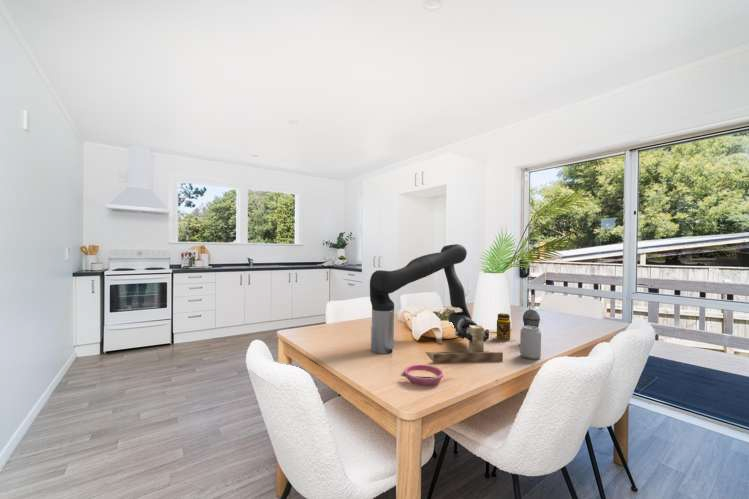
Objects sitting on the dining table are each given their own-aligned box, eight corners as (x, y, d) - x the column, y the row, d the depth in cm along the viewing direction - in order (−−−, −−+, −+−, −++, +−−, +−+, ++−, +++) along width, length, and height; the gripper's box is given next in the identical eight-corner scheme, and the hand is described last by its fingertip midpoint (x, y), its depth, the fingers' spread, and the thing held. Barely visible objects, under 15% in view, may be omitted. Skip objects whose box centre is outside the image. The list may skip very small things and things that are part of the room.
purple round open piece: (396, 381, 105) (396, 371, 105) (417, 370, 114) (417, 361, 114) (430, 392, 97) (430, 381, 97) (449, 380, 106) (450, 370, 106)
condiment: (503, 342, 151) (503, 316, 151) (489, 337, 159) (490, 312, 159) (514, 340, 154) (515, 315, 154) (501, 336, 162) (501, 311, 162)
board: (434, 367, 117) (434, 354, 117) (425, 356, 129) (425, 344, 129) (502, 365, 120) (502, 352, 120) (487, 354, 132) (487, 343, 132)
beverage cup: (542, 346, 145) (543, 301, 145) (526, 346, 145) (527, 301, 145) (535, 341, 152) (535, 298, 152) (519, 341, 152) (520, 298, 152)
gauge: (473, 356, 121) (473, 329, 121) (468, 350, 128) (469, 325, 128) (485, 356, 121) (485, 329, 121) (480, 351, 128) (480, 325, 128)
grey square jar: (544, 360, 126) (545, 329, 126) (525, 359, 127) (525, 329, 127) (535, 354, 134) (535, 324, 134) (517, 353, 134) (517, 324, 134)
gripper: (451, 318, 140) (459, 328, 123) (484, 319, 139) (497, 329, 122) (450, 336, 140) (459, 348, 123) (484, 337, 140) (497, 349, 122)
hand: (478, 339), depth 123 cm, fingers closed on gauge, 4 cm apart
